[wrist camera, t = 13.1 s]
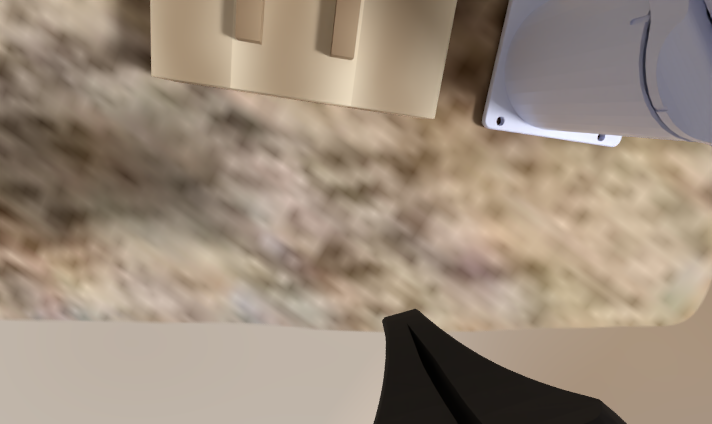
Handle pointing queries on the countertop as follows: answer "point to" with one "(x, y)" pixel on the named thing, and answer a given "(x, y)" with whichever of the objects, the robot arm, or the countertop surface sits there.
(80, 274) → the countertop surface
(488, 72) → the countertop surface
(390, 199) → the countertop surface
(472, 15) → the countertop surface
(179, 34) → the dock plate
